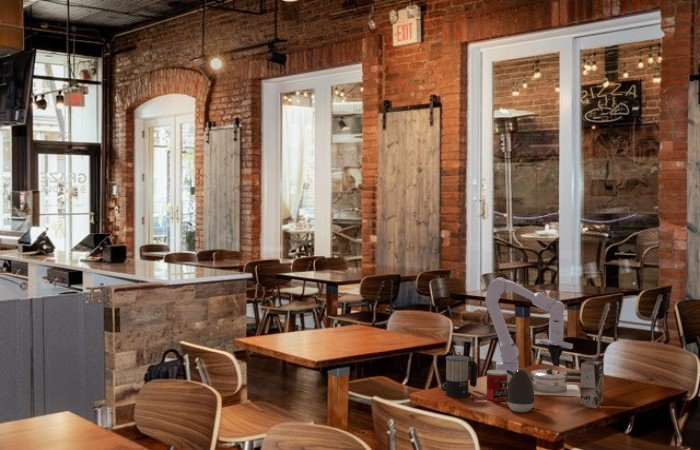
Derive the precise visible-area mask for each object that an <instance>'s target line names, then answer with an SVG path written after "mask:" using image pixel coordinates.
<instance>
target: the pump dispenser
mask: <svg viewBox="0 0 700 450" xmlns="http://www.w3.org/2000/svg"><path fill="white" fill-rule="evenodd" d="M506 372H507V373H508V374H510V375H512V377H511V379H510V382H509V383H508V384H507V395H506V400H505V402H506V403H507V406H508V408H509V409H510V410H511V411H513V412H515V413H528V412H529V411H531V410H532V408H533V407H534V404H535V402H536V398H535V397H536V396H535V395H536V394H534V388H533V384H532V381H531V378H530V376H529V375H530V374H529V372H528V371H527V370H525V369H524V368H519V369H518V370H516V371H515V372H512V371H509V370H507V371H506Z"/></svg>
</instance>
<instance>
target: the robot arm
mask: <svg viewBox="0 0 700 450" xmlns="http://www.w3.org/2000/svg"><path fill="white" fill-rule="evenodd" d="M503 293H514V294H516V295H519V296H521V297H523V298H525V299H528V300H530V301H531V303H532V305H534V306H536V307H538V308H539V309H542V310H544V311H546V312H548V313H549V315H550V316H549V319H548V321H549V324H548V325H549V327H548V338H540V339H539V340H538V341H539V345H546V346H547V348H546V349H547V350H548V352H549V356H550V358H551V364H552V365H559V362H560V359H561V356H562V353H563V351H564V350H565V349H569V350H571V349H574V347H573V346H574V343H571V342H566V341H564V332H565V331H564V330H565V329H564V328H565V327H564V326H565V319H564V317H565V314H564V313H565V308H566V307H565V304H564V303H563V302H562V301H561V300H558V299H557V298H555V297H553V298H552V297H550V296H548V295H546V293H545V292H544V291H542V292H540V291H538V292H533V291H532V290H529V289H528V288H526V287H523V286H522V285H520V284H518V283H517V282H515V281H512V280H510V279H506V278H504V277H500V276H499V277H496V278H494V279H492V281H490V283H489V284H488V286H487V291H486V294H485V300H484V302H485V305H486V309H487V310H488V314H489V315H490V319H491V321H492V323H493V326H494V330H495V332H496V336H497V338H498V341H499V348H500V358H501V361H495V362H496V365H495V370H503V371H507V370H509V371H512V372H515V371H516V370H518V369H520V368H519V365H520V364H519V363H520V362H519V360H518V357H519V355H520V349H519V348H518V346H516V344H515V342H514V340H513V338H512V337H511V335H510V332H509V329H508V326H507V324H506V321H505V318H504V316H503V312H502V310H501V307H500V304H499V300H500V298H501V297H502V295H503ZM511 377H512V375H510V374H508V373H507V384H509V382H510V379H511Z"/></svg>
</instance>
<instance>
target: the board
mask: <svg viewBox="0 0 700 450" xmlns="http://www.w3.org/2000/svg"><path fill="white" fill-rule="evenodd" d="M580 390H581V389H580V388H579V387H578V385H577V384H567V391H566V392H563V393H543V392H538V391H534V394H535V395H541V396H542V395H543V396H544V395H545V396H565V397H580Z"/></svg>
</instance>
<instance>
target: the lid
mask: <svg viewBox="0 0 700 450" xmlns="http://www.w3.org/2000/svg"><path fill="white" fill-rule="evenodd" d="M530 375H532V376H534V377H538V378H543V379H564V378H567V377H579V378H581V371H573V370H572V371H571V370H569V371H568V370H567V371H566V372H565V371H562V370H561V371H560V370H555V369H552V368H546V369H535V370H531V371H530Z"/></svg>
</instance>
